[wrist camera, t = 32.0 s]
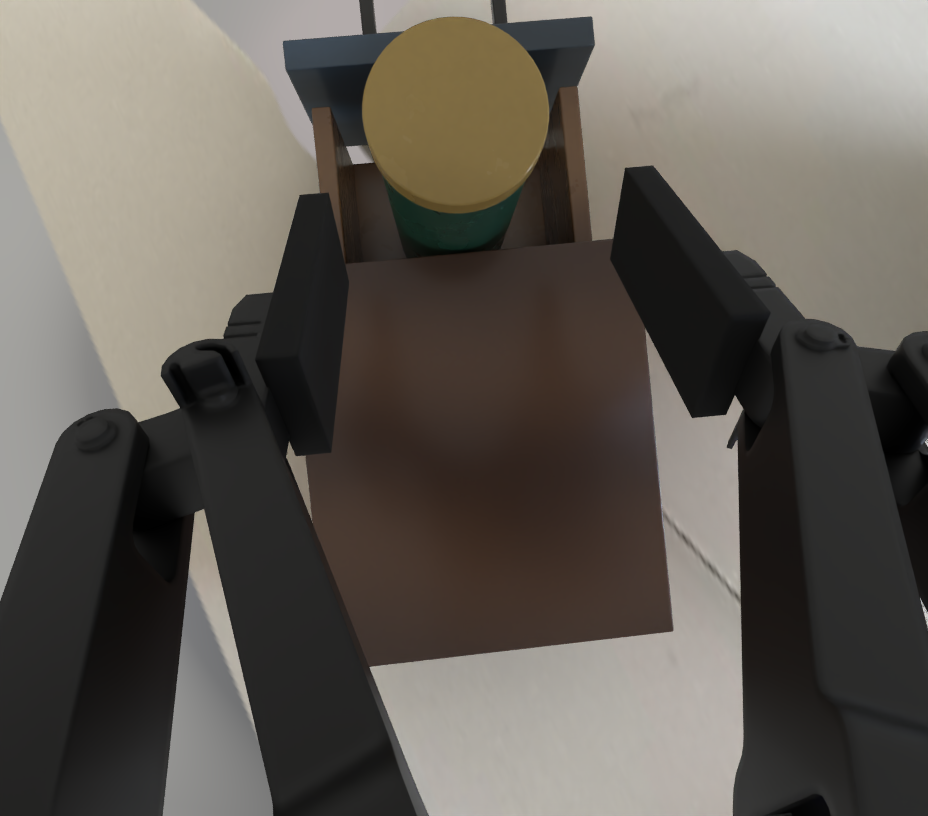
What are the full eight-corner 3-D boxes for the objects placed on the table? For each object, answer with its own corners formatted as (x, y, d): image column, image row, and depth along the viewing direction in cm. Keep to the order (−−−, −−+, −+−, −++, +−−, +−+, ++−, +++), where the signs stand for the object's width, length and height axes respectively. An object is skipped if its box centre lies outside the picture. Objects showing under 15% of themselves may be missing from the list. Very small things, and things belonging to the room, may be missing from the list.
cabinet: (332, 307, 30) (284, 268, 21) (581, 283, 30) (636, 236, 22) (362, 592, 30) (328, 672, 21) (608, 565, 31) (674, 631, 22)
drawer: (309, 18, 29) (266, -102, 22) (547, 0, 29) (579, -124, 22) (350, 401, 29) (320, 402, 22) (584, 378, 29) (626, 372, 23)
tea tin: (427, 161, 28) (412, -19, 16) (523, 210, 28) (581, 69, 16) (379, 258, 28) (329, 151, 16) (476, 306, 28) (498, 237, 16)
